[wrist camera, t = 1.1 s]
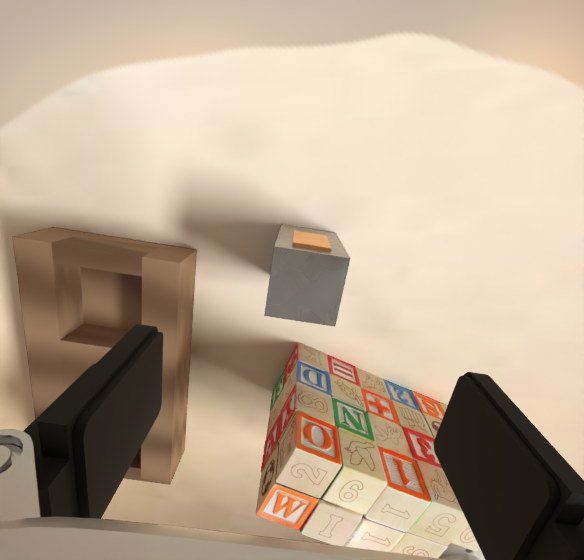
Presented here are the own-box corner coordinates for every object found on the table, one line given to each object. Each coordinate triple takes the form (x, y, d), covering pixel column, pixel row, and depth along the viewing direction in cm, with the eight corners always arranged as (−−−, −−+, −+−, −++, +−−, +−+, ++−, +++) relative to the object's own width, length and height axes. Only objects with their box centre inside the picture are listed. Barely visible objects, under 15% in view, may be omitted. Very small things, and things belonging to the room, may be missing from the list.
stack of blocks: (491, 421, 32) (598, 563, 21) (455, 464, 34) (535, 616, 23) (296, 340, 30) (294, 449, 18) (270, 391, 32) (252, 519, 20)
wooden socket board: (184, 449, 34) (170, 484, 31) (70, 433, 34) (41, 467, 30) (196, 249, 27) (180, 262, 24) (52, 227, 27) (12, 236, 23)
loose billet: (325, 283, 28) (334, 326, 20) (274, 275, 28) (264, 315, 20) (336, 230, 27) (350, 255, 19) (282, 221, 26) (274, 242, 19)
